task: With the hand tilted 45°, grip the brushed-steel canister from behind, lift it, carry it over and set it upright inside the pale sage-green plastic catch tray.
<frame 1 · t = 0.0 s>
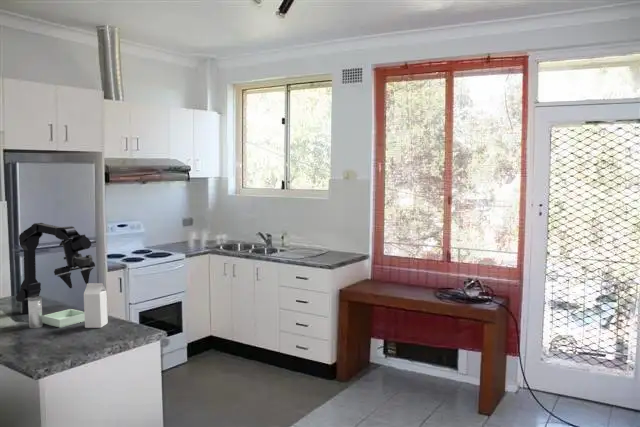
hand: (79, 286, 248), 15 cm above the countertop, tool pointing down, fingers open, 9 cm apart
catch tray: (65, 321, 245), on the countertop
steel canister: (36, 326, 238), on the countertop
milk carton: (96, 326, 238), on the countertop
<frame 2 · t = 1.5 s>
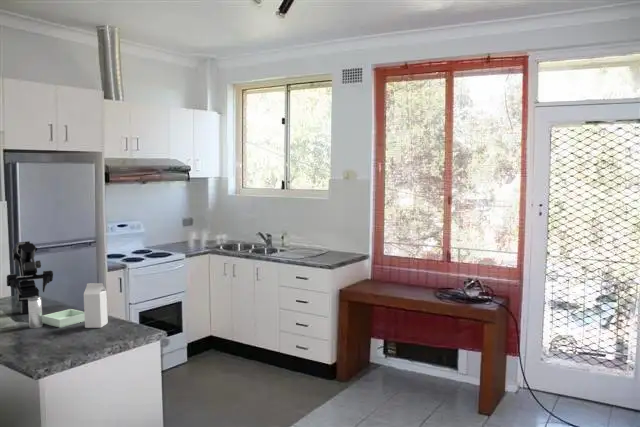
hand: (32, 293, 243), 13 cm above the countertop, tool tilted 45°, fingers open, 9 cm apart
nothing on the countertop moved.
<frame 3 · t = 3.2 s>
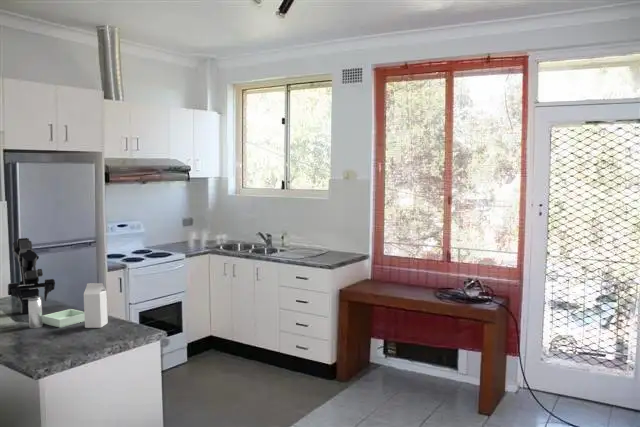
hand: (34, 302, 240), 10 cm above the countertop, tool tilted 45°, fingers open, 9 cm apart
nothing on the countertop moved.
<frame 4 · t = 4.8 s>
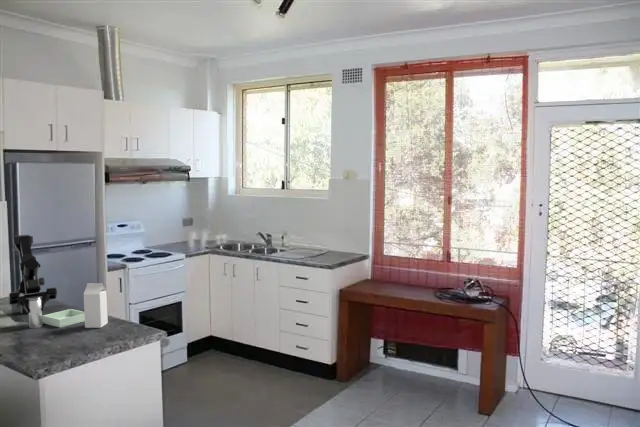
hand: (35, 311, 236), 7 cm above the countertop, tool tilted 45°, fingers closed on steel canister, 5 cm apart
steel canister: (36, 326, 238), on the countertop, touching gripper
everything else where it was.
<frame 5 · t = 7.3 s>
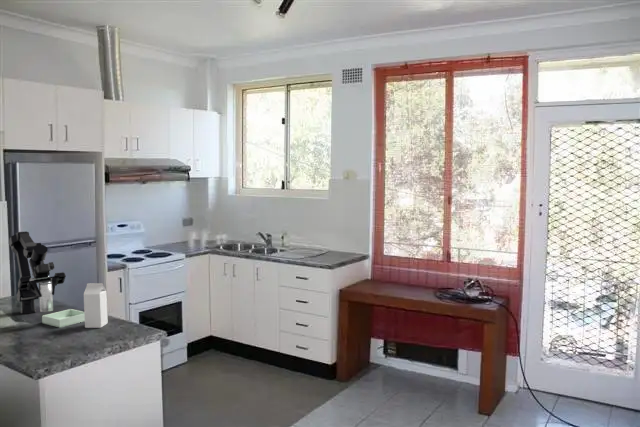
hand: (46, 295, 238), 14 cm above the countertop, tool tilted 45°, fingers closed on steel canister, 5 cm apart
steel canister: (46, 310, 239), point 7 cm above the countertop, touching gripper
everything else where it was.
when the fingers open (9 cm above the countertop, at t = 9.6 s): steel canister drops 1 cm, resting on catch tray.
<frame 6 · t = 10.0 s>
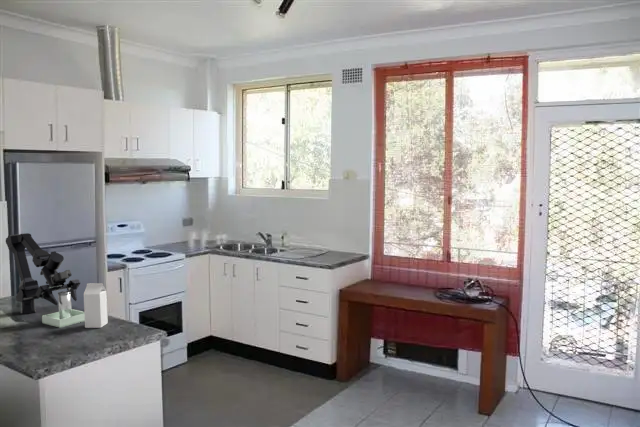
hand: (66, 302, 243), 9 cm above the countertop, tool tilted 45°, fingers open, 9 cm apart
steel canister: (65, 320, 245), point 1 cm above the countertop, touching catch tray
everything else where it was.
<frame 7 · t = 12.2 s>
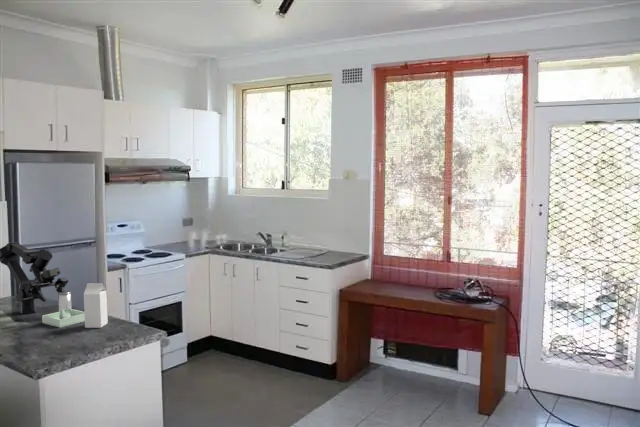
hand: (54, 299, 249), 9 cm above the countertop, tool tilted 45°, fingers open, 9 cm apart
nothing on the countertop moved.
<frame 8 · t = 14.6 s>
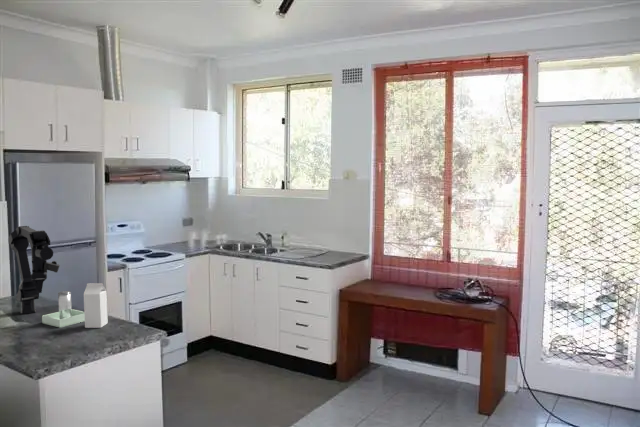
hand: (40, 291, 250), 13 cm above the countertop, tool pointing down, fingers open, 9 cm apart
nothing on the countertop moved.
at the end: steel canister inside the target area on the catch tray (0.1 cm from its centre), point 0.6 cm above the catch tray's base; steel canister tilted 0°; the gripper is holding nothing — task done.
